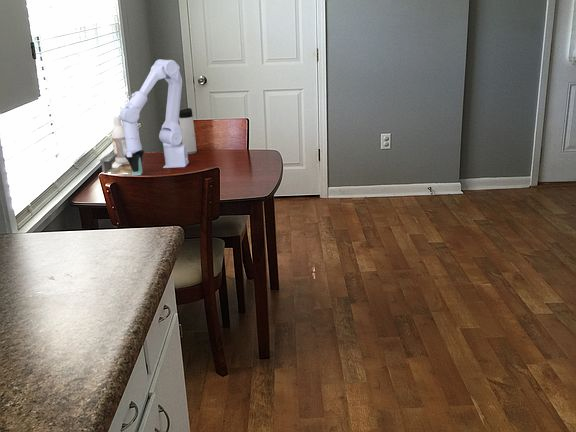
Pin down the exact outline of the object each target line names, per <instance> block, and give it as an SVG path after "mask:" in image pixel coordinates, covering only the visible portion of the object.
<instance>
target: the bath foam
mask: <svg viewBox="0 0 576 432" xmlns="http://www.w3.org/2000/svg"><path fill="white" fill-rule="evenodd" d="M113 122H114V123H113V124H114V127H113V129H112V131H111V141H112V146H113V152H114V153H113V154H117V156H116V157H114V160H115V163H117V164H125V163H127V162H128V160H127V159H126V158H125V156H126V152H127V151H124V149H125V148H127V147H126V141H125V134H124V128H123V124H122V120H121V119H120V118H119V116H115V117H113ZM128 163H129V162H128Z"/></svg>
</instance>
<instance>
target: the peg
mask: <svg viewBox="0 0 576 432" xmlns="http://www.w3.org/2000/svg"><path fill="white" fill-rule="evenodd" d="M138 165H139V170H138V172H133V171H132V173H133V175H141V174H142V173H143V166H142V165H141V158H140V157H139V162H138ZM133 175H132V176H133ZM142 175H143V174H142ZM142 175H141V176H142Z"/></svg>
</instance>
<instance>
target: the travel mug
mask: <svg viewBox="0 0 576 432" xmlns="http://www.w3.org/2000/svg"><path fill="white" fill-rule="evenodd" d="M178 123H179V125H180V127H181V133H182V137H183V139H182V142H181V145H186V147H187V154H188V155H193V154H196V153H197V151H198V150H197V142H196V140H197V139H196V132H195V124H194V116H193V109H192V107H191V108H189V107H187V108H184V109H180V111H179V121H178Z"/></svg>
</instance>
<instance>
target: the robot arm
mask: <svg viewBox="0 0 576 432" xmlns="http://www.w3.org/2000/svg"><path fill="white" fill-rule="evenodd" d="M180 69H181V68H180V65H179V64H178V62H176V61H175V60H173V59H163V58H161V59H159V58H158V59H157V60H155V62H154V64H152V66H151V67H150V71H149V73H148V75H147V77H146V78H145V80H144V82H143V84H142V85H141V87H140V89H139V90H136V91H134V93H131V95H130V96H131V98H130V99H129V101H128V102H127V103H126V104H125V105H124V106H125V107H123V108H121V110H120V112H119V115H118V117H119V118H120V119H121V123H122V126H123V128H124V134H125V141H126V147H127V148H125V149H124V151H127V152H126V156H125V158H126V159H127V160H128V163H129V164H130V166H131V168H132V171H133V172H138V170H139V165H138V162H139V157H140V158H141V165H142V163H143V156H144V153H145V150H143V146H142V143H141V140H140V139H141V138H140V132H139V131H140V130H139V123H138V120H139V119H140V112H141V111H142V109H143V107H144V106H145V105H146V103H147V102H148V95H149V93H150V92H151V90H153V87H154V86H155V85H156V83H157V82H158V81H159V80H163V79H164V80H165V81H166V82H167V84H168V86H167V87H168V89H167V99H166V107H165V108H166V109H165V121H164V123H163V124H162V125H161V129H160V131H159V134H158V138H159V140H160V142H162V145H163V146H162V148H163V155H164V162H165V165H164V166H163V167H162V168H163V169H170V168H171V169H172V168H173V169H174V168H185V167H187V165H188V164H189V163H190V161H189V154H187V147H186V145H182V139H183V137H182V133H181V127H180V123H179V111H180V110H181V109H180V108H181V100H182V99H181V98H182V89H183V79H182V75H181V71H180Z"/></svg>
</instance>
